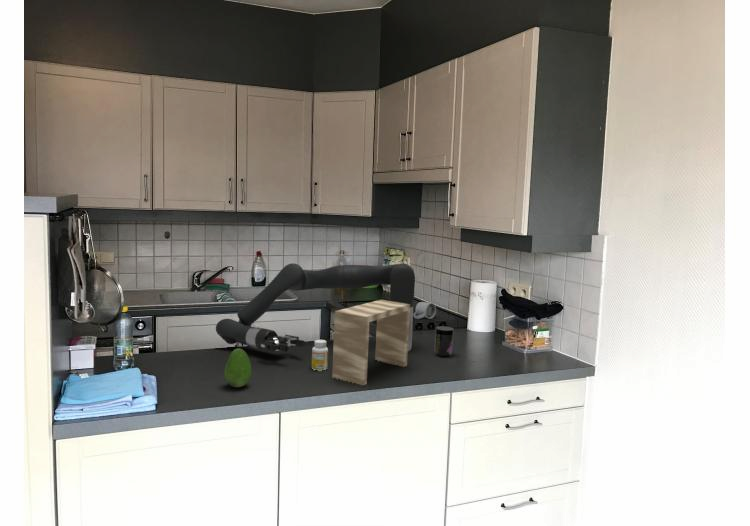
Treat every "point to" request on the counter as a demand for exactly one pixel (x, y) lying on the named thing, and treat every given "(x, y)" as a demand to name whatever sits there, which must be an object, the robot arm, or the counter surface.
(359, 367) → the low shelf
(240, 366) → the avocado
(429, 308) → the ceramic mug
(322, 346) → the supplement bottle
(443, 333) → the supplement container
